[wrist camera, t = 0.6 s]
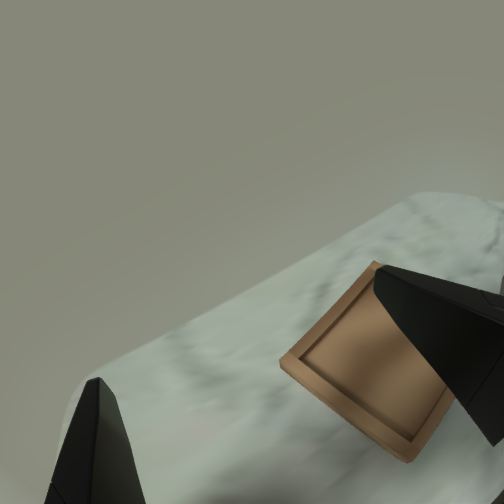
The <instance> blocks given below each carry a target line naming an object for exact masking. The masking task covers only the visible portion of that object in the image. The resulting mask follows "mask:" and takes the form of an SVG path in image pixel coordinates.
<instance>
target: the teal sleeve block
mask: <svg viewBox="0 0 504 504" xmlns="http://www.w3.org/2000/svg"><path fill="white" fill-rule="evenodd" d="M500 295H502V296H504V276H503V278H502V284H501V290H500Z"/></svg>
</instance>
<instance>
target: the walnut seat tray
mask: <svg viewBox="0 0 504 504" xmlns="http://www.w3.org/2000/svg"><path fill="white" fill-rule="evenodd" d="M381 266H383V265H381V264H379V263H378V262H376V261H373V262H372V263H371V264H370V265H369V267H368V268H367V269H366V270H365V271H364V272H363V273H362V274H361V276H360V277H359V278H358V279H357V280H356V281H355V282H354V283H353V285H352V286H351V287H350V288H349V289H348V290H347V291H346V292H345V293H344V294H343V295H342V297H341V298H340V299H339V300H338V301H337V302H336V303H335V304H334V305H333V306H332V307H331V308H330V309H329V310H328V311H327V313H326V314H325V315H324V316H323V317H322V318H321V319H320V320H319V321H318V322H317V323H316V324H315V325H314V326H313V327H312V328H311V329H310V330H309V331H308V332H307V333H306V334H305V335H304V336H303V337H302V338H301V339H300V340H299V341H298V342H297V343H296V344H295V345H294V346H293V347H292V348H291V349H290V350H289V351H288V352H287V353H286V354H285V355H284V356H283V357H282V358H281V359H279V362H280V368H281V369H283V370H284V371H285V372H286V373H287V374H289V375H290V376H291V377H292V378H293V379H295V380H296V381H297V382H298V383H300V384H301V385H302V386H303V387H304V388H306V389H307V390H308V391H309V392H311V393H312V394H313V395H314V396H316V397H317V398H318V399H319V400H321V401H322V402H323V403H325V404H326V405H327V406H328V407H330V408H331V409H332V410H333V411H335V412H336V413H337V414H339V415H340V416H341V417H343V418H344V419H345V420H346V421H348V422H349V423H350V424H352V425H353V426H354V427H356V428H357V429H358V430H360V431H361V432H362V433H364V434H365V435H367V436H368V437H369V438H371V439H372V440H373V441H375V442H376V443H378V444H379V445H380V446H382V447H383V448H385V449H386V450H387V451H389V452H390V453H392V454H393V455H394V456H396V457H397V458H399V459H400V460H402V461H403V462H405V463H409V462H412V461H413V460H414V459H415V458H416V456H417V455H418V454H419V452H420V451H421V450H422V448H423V447H424V445H425V444H426V442H427V441H428V439H429V438H430V437H431V435H432V434H433V432H434V430H435V429H436V427H437V426H438V424H439V423H440V421H441V420H442V418H443V416H444V415H445V413H446V411H447V410H448V408H449V406H450V405H451V403H452V401H453V399H454V398H455V396H454V394H453V393H452V392H451V391H450V389H449V388H448V387H447V386H446V384H445V383H444V382H443V381H442V379H441V378H440V377H439V376H438V374H437V373H436V372H435V371H434V369H433V368H432V367H431V366H430V365H429V363H428V362H427V361H426V360H425V359H424V357H423V356H422V355H421V354H420V353H419V351H418V350H417V349H416V348H415V347H414V345H413V344H412V343H411V342H410V341H409V340H408V338H407V337H406V336H405V335H404V334H403V333H402V331H401V330H400V329H399V328H398V326H397V325H396V324H395V322H394V321H393V320H392V318H391V317H390V315H389V314H388V312H387V311H386V310H385V308H384V307H383V305H382V304H381V303H380V301H379V300H378V298H377V297H376V296H375V294H374V291H373V283H374V275H375V271H376V269H377V268H379V267H381Z"/></svg>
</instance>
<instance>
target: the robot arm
mask: <svg viewBox="0 0 504 504" xmlns="http://www.w3.org/2000/svg"><path fill="white" fill-rule="evenodd" d="M373 291H374V294H375V296H376V297H377V298H378V300H379V301H380V303H381V304H382V305H383V307H384V308H385V310H386V311H387V312H388V314H389V315H390V317H391V318H392V320H393V321H394V322H395V324H396V325H397V326H398V328H399V329H400V330H401V331H402V333H403V334H404V335H405V336H406V337H407V338H408V340H409V341H410V342H411V343H412V344H413V345H414V347H415V348H416V349H417V350H418V351H419V353H420V354H421V355H422V356H423V357H424V359H425V360H426V361H427V362H428V363H429V365H430V366H431V367H432V368H433V369H434V371H435V372H436V373H437V374H438V376H439V377H440V378H441V379H442V381H443V382H444V383H445V384H446V386H447V387H448V388H449V389H450V391H451V392H452V393H453V394H454V396H455V397H456V398H457V399H458V401H459V402H460V403H461V405H462V406H463V407H464V408H465V410H466V411H467V413H468V414H469V415H470V417H471V418H472V419H473V421H474V422H475V423H476V425H477V426H478V427H479V429H480V430H481V431H482V433H483V434H484V435H485V437H486V438H487V440H488V441H489V442H490V444H491V445H492V446H493V447H494V446H495V445H496V444H497V443H498V442H500V441H501V440H502V439H503V438H504V296H502V295H498V294H494V293H490V292H487V291H483V290H478V289H476V288H472V287H469V286H465V285H461V284H458V283H454V282H450V281H447V280H443V279H439V278H435V277H432V276H428V275H424V274H420V273H417V272H413V271H409V270H405V269H401V268H398V267H394V266H390V265H383V266H381V267H379V268H377V269H376V271H375V275H374V283H373ZM51 481H52V483H50V486H49V489H48V492H47V496H46V499H45V502H44V504H146V502H145V499H144V496H143V492H142V489H141V485H140V481H139V478H138V474H137V470H136V466H135V462H134V458H133V454H132V449H131V446H130V442H129V439H128V436H127V433H126V430H125V427H124V424H123V420H122V417H121V414H120V411H119V407H118V404H117V400H116V398H115V395H114V394H113V392H112V391H111V389H110V388H109V387H108V386H107V384H106V383H105V382H104V381H103V379H102V378H100V377H97V378H94V379H90V380H88V381H87V382H86V384H85V387H84V389H83V392H82V394H81V397H80V399H79V402H78V404H77V407H76V410H75V412H74V415H73V417H72V420H71V423H70V425H69V428H68V431H67V434H66V437H65V439H64V442H63V445H62V448H61V451H60V454H59V457H58V460H57V463H56V466H55V469H54V473H53V476H52V479H51ZM491 504H504V490H503V491H502V492H501V493H500V494H499V496H498V497H497V498H496V499H495V500H494V501H493V502H492V503H491Z"/></svg>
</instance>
